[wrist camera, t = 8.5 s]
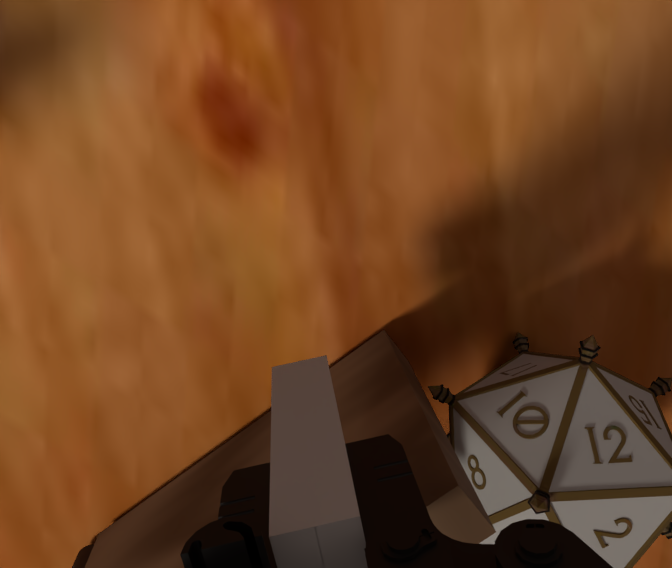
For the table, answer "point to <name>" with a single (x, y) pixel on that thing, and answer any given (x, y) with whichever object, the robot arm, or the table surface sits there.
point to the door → (254, 449)
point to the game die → (567, 449)
